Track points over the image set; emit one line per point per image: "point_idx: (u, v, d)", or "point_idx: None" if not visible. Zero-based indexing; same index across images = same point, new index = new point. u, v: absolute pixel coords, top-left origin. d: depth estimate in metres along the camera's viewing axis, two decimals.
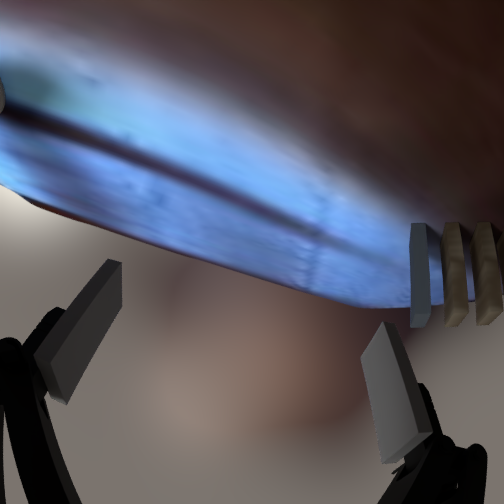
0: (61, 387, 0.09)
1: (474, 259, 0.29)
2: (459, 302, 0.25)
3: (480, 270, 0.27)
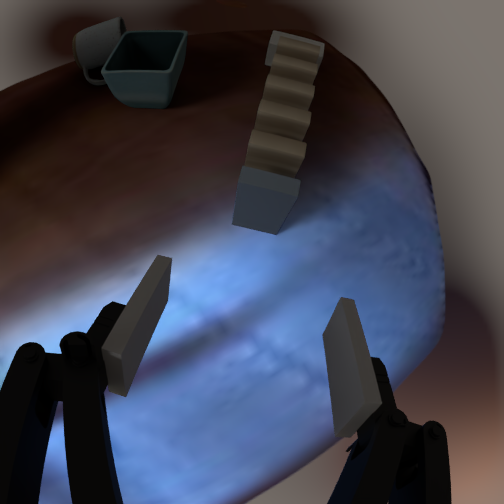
0: (124, 379, 0.10)
1: None
2: None
3: None
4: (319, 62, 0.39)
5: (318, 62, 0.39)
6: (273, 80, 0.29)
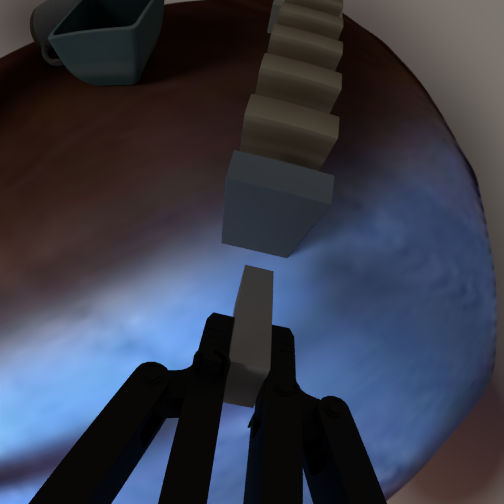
0: (241, 387, 0.11)
1: None
2: None
3: None
4: None
5: None
6: (282, 31, 0.18)
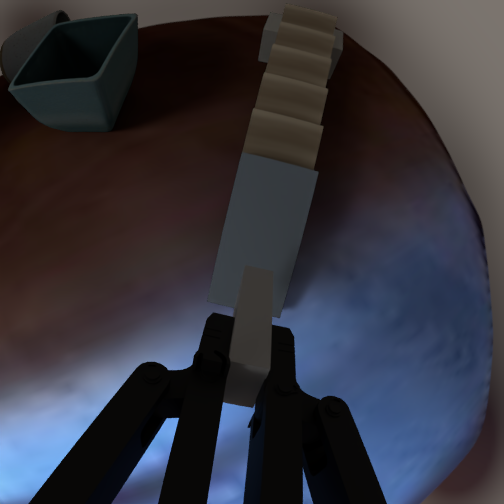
0: (241, 387, 0.11)
1: None
2: None
3: None
4: (337, 57, 0.27)
5: (335, 57, 0.27)
6: None
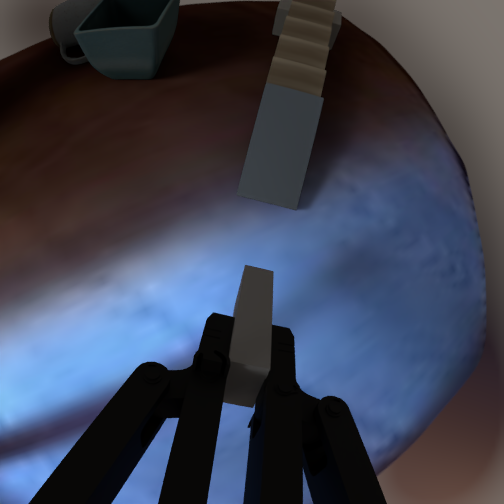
0: (241, 387, 0.11)
1: None
2: None
3: None
4: (336, 31, 0.31)
5: (335, 31, 0.31)
6: None
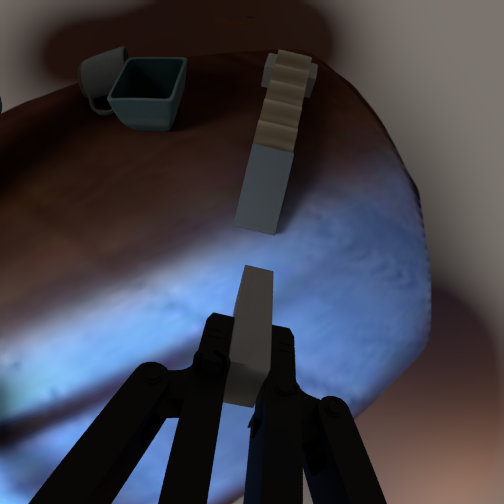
0: (241, 387, 0.11)
1: None
2: None
3: None
4: (312, 84, 0.43)
5: (311, 84, 0.43)
6: None
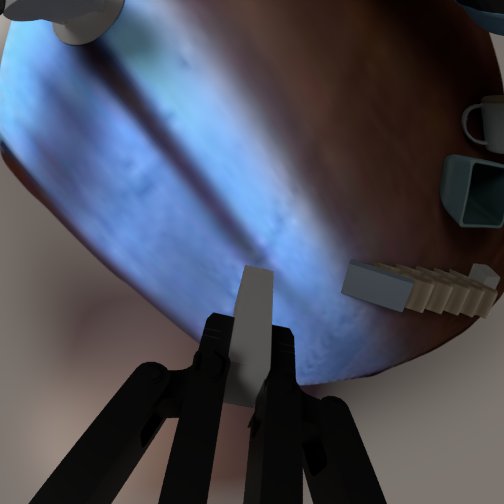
0: (241, 388, 0.11)
1: None
2: (428, 281, 0.41)
3: None
4: None
5: None
6: None
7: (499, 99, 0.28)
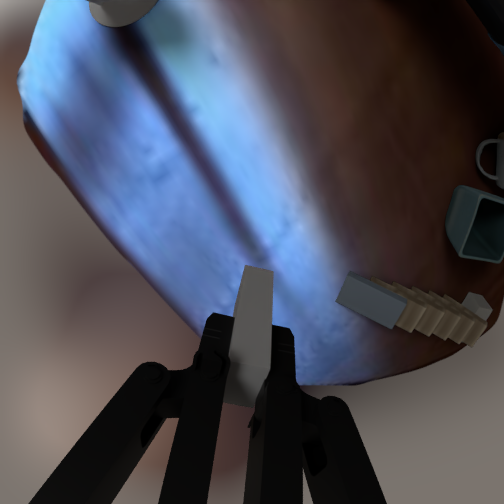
0: (241, 387, 0.11)
1: None
2: (421, 303, 0.43)
3: None
4: None
5: None
6: None
7: None
